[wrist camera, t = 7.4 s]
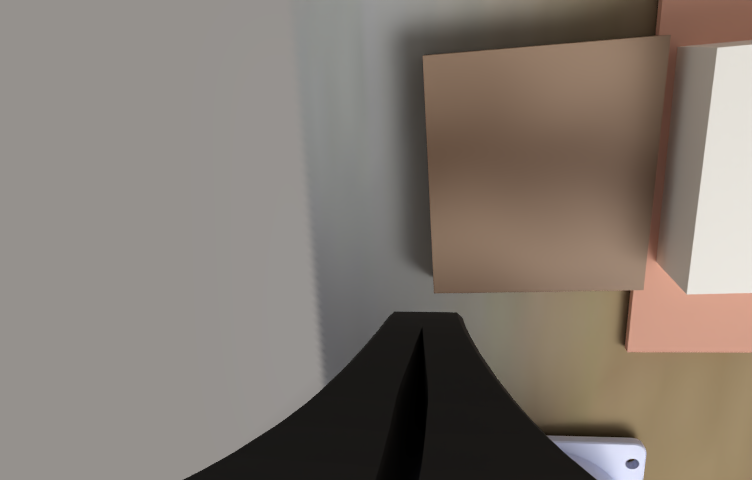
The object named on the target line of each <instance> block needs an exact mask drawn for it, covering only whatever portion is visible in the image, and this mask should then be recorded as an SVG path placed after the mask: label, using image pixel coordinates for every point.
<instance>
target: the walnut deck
mask: <svg viewBox="0 0 752 480" xmlns="http://www.w3.org/2000/svg"><path fill="white" fill-rule="evenodd" d="M670 38H671V35H654V36H643V37H631V38H619V39H607V40H595V41H584V42H572V43H560V44H548V45H536V46H525V47H513V48H501V49H489V50H477V51H466V52H454V53H442V54H430V55H423V74H424V95H425V116H426V136H427V157H428V178H429V198H430V219H431V240H432V260H433V281H434V293H485V292H553V291H620V290H644V281H645V271H646V262H647V253H648V244H649V234H650V225H651V216H652V206H653V197H654V188H655V178H656V169H657V160H658V150H659V141H660V132H661V122H662V113H663V104H664V94H665V85H666V76H667V66H668V57H669V48H670Z"/></svg>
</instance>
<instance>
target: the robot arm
mask: <svg viewBox="0 0 752 480" xmlns="http://www.w3.org/2000/svg"><path fill="white" fill-rule="evenodd" d="M629 459H635V460H633V461H630V462H627V460H629ZM645 461H646V449H645V447H644V445H643V443H642V442H641V441H640V440H638V439H636V438H624V437H586V436H547V435H546V434H545V433H544V432H543V431H542V430H541V429H540V428H539V427H538V426H537V425H536V424H535V423H534V422H533V421H532V420H531V419H530V418H529V417H528V416H527V415H526V413H525V412H524V411H523V410H522V409H521V408H520V407H519V405H518V404H517V403H516V402H515V401H514V399H513V398H512V397H511V396H510V394H509V393H508V392H507V391H506V389H505V388H504V387H503V386H502V384H501V383H500V382H499V380H498V379H497V378H496V376H495V375H494V373H493V372H492V370H491V369H490V367H489V366H488V364H487V363H486V362H485V360H484V359H483V357H482V356H481V354H480V352H479V351H478V349H477V347H476V346H475V344H474V342H473V340H472V339H471V337H470V335H469V333H468V331H467V329H466V326H465V324H464V321H463V318H462V317H461V316H460V315H459V314H458V313H450V312H394V313H392V314H391V315H390V316H389V317H388V319H387V320H386V321H385V322H384V324H383V325H382V326H381V327H380V329H379V330H378V331H377V332H376V334H375V335H374V336H373V337H372V338H371V339H370V341H369V342H368V343H367V344H366V345H365V346H364V348H363V349H362V350H361V351H360V352H359V353H358V354H357V355H356V356H355V357H354V358H353V360H352V361H351V362H350V363H349V364H348V365H347V366H346V367H345V368H344V369H343V370H342V371H341V372H340V373H339V374H338V375H337V376H336V377H335V378H334V379H333V380H331V381H330V382H329V383H328V384H327V385H326V386H325V387H324V388H323V389H322V390H321V391H320V392H319V393H318V394H316V395H315V396H314V397H313V398H312V399H311V400H310V401H308V402H307V403H306V404H305V405H304V406H302V407H301V408H299V409H298V410H297V411H295V412H294V413H293V414H292V415H290V416H289V417H287V418H286V419H285V420H283V421H282V422H281V423H279V424H278V425H276V426H275V427H273V428H272V429H270V430H268V431H267V432H265V433H264V434H262V435H261V436H259V437H257V438H256V439H254V440H253V441H251V442H250V443H248V444H246V445H245V446H243V447H242V448H240V449H239V450H237V451H236V452H234V453H232V454H230V455H229V456H227V457H225V458H223V459H222V460H220V461H218V462H216V463H214V464H213V465H211V466H209V467H207V468H205V469H203V470H202V471H200V472H198V473H196V474H194V475H192V476H190V477H188V478H186V479H184V480H643V477H644V469H645Z"/></svg>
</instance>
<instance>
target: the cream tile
mask: <svg viewBox="0 0 752 480" xmlns="http://www.w3.org/2000/svg"><path fill="white" fill-rule="evenodd" d="M656 262H657V263H658V264H659V265H660V266H661V268H662V269H663V270H664V271H665V272H666V273H667V274H668V275H669V276H670V277H671V278H672V279H673V280H674V281H675V283H676V284H677V285H678V286H679V287H680V288H681V289H682V290H683V291H684V292H685V293H686V294H728V293H752V40H745V41H734V42H723V43H712V44H702V45H691V46H680V47H677V57H676V67H675V77H674V87H673V97H672V107H671V117H670V128H669V138H668V148H667V158H666V168H665V178H664V188H663V198H662V208H661V218H660V228H659V238H658V248H657V258H656Z"/></svg>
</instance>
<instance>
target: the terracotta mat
mask: <svg viewBox="0 0 752 480" xmlns="http://www.w3.org/2000/svg"><path fill="white" fill-rule="evenodd" d="M655 35H671V38H670V48H669V57H668V66H667V76H666V85H665V94H664V104H663V113H662V122H661V132H660V141H659V150H658V160H657V169H656V178H655V188H654V197H653V206H652V216H651V225H650V234H649V244H648V253H647V262H646V271H645V281H644V290H630V300H629V310H628V320H627V330H626V341H625V349H626V351H627V352H752V293H728V294H686V293H685V292H684V291H683V290H682V289H681V288H680V287H679V286H678V285H677V284H676V283H675V281H674V280H673V279H672V278H671V277H670V276H669V275H668V274H667V273H666V272H665V271H664V270H663V269H662V268H661V266H660V265H659V264H658V263H657V262H656V258H657V248H658V238H659V228H660V218H661V208H662V198H663V188H664V178H665V168H666V158H667V148H668V138H669V128H670V117H671V107H672V97H673V87H674V77H675V67H676V57H677V47H680V46H691V45H702V44H712V43H723V42H734V41H745V40H752V0H659V2H658V13H657V23H656V33H655Z"/></svg>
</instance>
